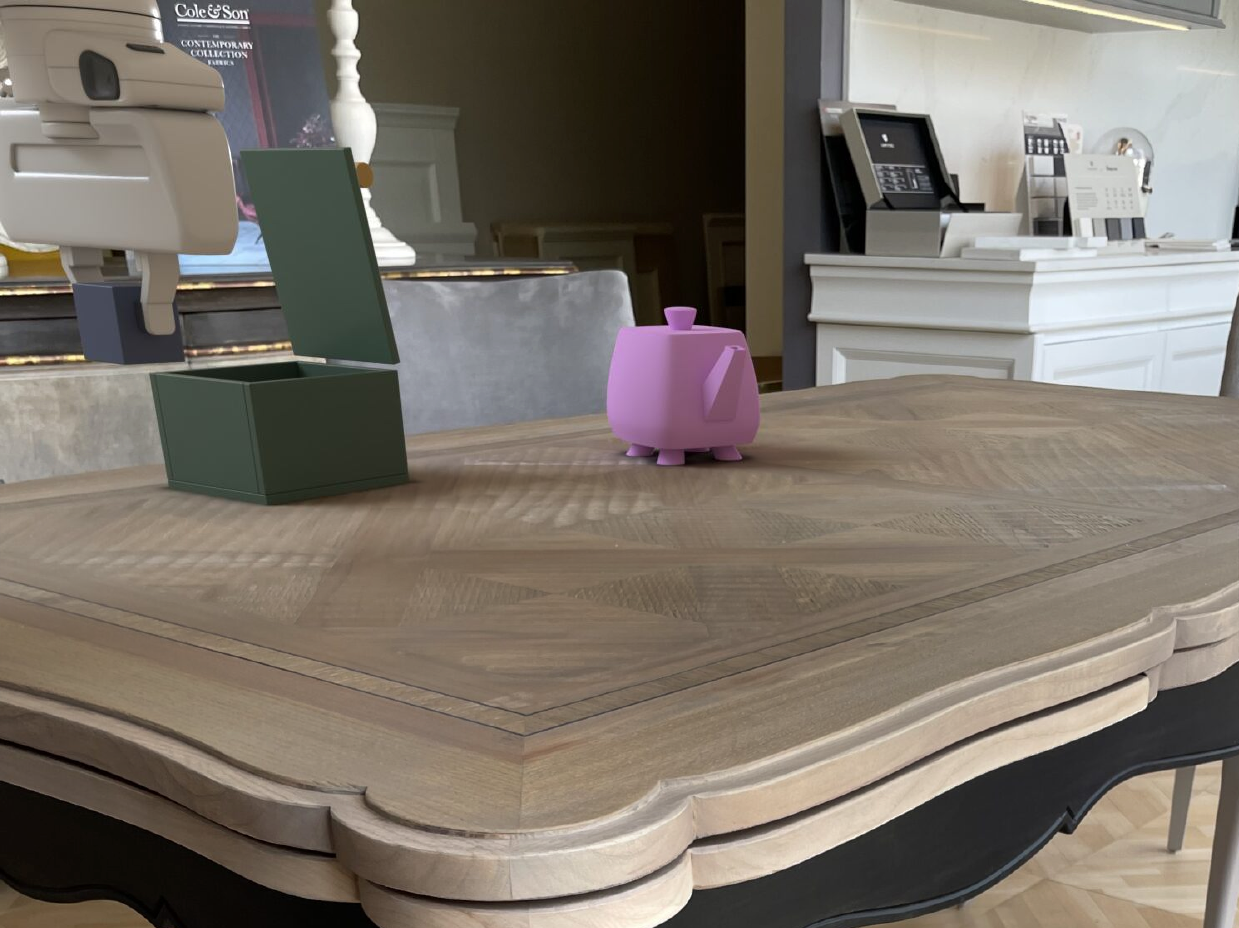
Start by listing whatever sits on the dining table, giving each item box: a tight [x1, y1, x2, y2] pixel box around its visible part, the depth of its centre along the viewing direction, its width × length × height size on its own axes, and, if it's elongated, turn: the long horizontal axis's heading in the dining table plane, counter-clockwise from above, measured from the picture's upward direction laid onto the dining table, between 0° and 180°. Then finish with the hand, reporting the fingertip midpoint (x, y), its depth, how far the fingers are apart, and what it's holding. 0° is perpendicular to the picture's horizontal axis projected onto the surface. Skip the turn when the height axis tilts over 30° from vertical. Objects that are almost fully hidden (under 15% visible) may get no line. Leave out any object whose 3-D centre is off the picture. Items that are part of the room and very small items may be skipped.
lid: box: [238, 146, 401, 366], centre depth 128 cm, size 15×13×5 cm
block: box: [71, 281, 186, 366], centre depth 99 cm, size 4×4×4 cm
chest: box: [148, 360, 410, 506], centre depth 128 cm, size 15×13×9 cm
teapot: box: [606, 306, 761, 466], centre depth 144 cm, size 20×12×13 cm, turn 33°
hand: (130, 331), depth 99 cm, fingers closed on block, 4 cm apart
